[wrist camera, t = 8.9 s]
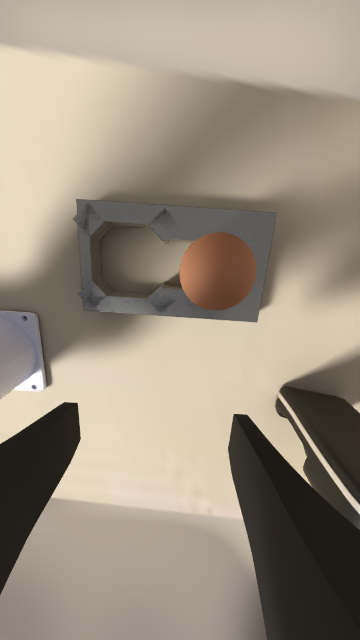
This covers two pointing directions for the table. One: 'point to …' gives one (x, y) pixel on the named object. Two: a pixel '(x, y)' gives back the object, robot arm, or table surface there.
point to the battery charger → (327, 446)
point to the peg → (217, 271)
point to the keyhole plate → (169, 227)
